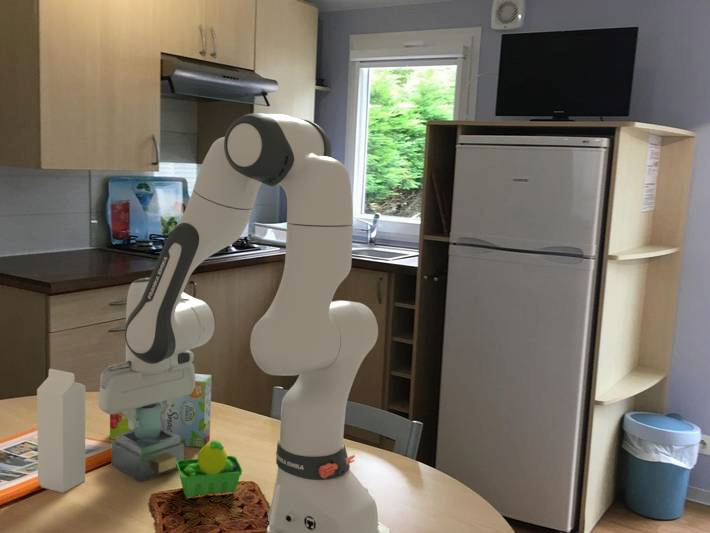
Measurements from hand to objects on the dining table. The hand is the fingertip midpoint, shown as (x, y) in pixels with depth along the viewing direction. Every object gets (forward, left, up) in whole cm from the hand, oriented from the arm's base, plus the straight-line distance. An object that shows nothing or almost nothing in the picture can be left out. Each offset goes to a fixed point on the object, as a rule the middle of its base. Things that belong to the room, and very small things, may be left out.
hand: (147, 424), depth 148 cm
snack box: (+10, -10, -9) cm, 17 cm away
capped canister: (0, 0, -2) cm, 2 cm away
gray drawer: (0, 0, -9) cm, 9 cm away
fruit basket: (-17, -2, -9) cm, 19 cm away
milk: (+4, +16, -9) cm, 19 cm away
